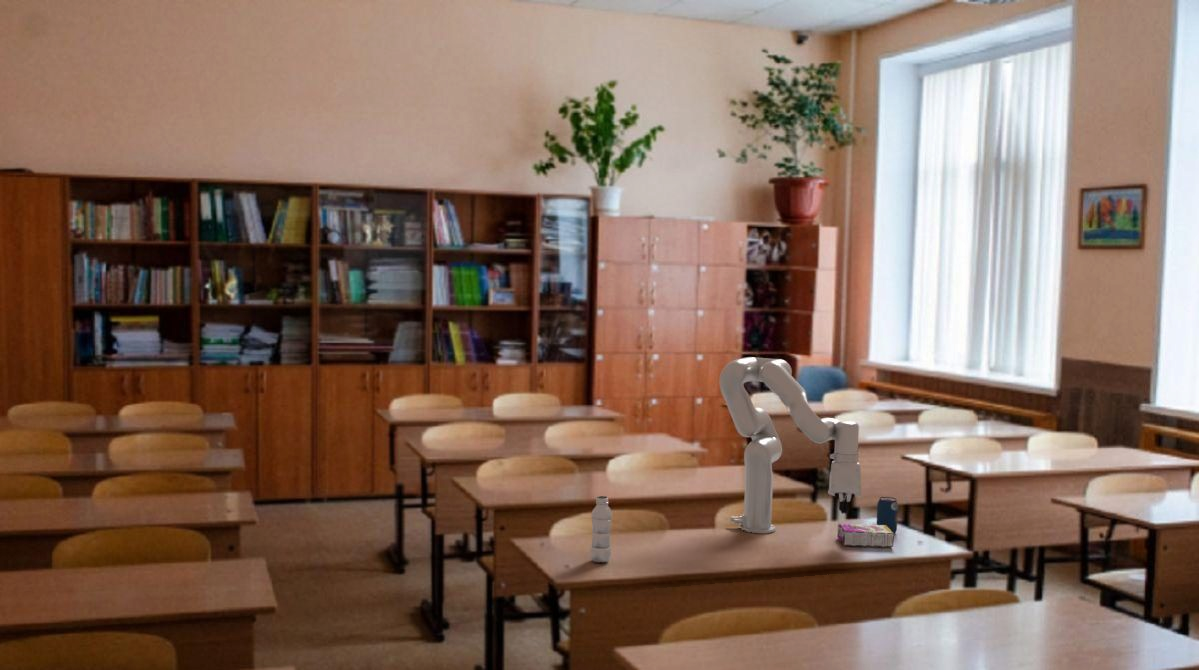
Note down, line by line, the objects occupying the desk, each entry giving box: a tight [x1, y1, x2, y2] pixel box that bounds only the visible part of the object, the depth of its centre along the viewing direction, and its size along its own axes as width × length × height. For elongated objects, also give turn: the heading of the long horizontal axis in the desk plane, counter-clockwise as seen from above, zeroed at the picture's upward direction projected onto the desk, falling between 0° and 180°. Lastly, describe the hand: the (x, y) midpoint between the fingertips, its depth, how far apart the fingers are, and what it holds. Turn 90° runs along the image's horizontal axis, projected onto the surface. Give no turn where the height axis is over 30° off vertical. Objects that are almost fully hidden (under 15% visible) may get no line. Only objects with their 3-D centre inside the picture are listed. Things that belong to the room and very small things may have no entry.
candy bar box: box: [837, 523, 895, 548], centre depth 357 cm, size 11×5×16 cm
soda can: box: [875, 496, 899, 535], centre depth 371 cm, size 7×7×12 cm
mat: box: [844, 545, 892, 549], centre depth 359 cm, size 15×12×1 cm
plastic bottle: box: [589, 495, 613, 563], centre depth 326 cm, size 6×7×20 cm
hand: (843, 512), depth 356 cm, fingers closed
